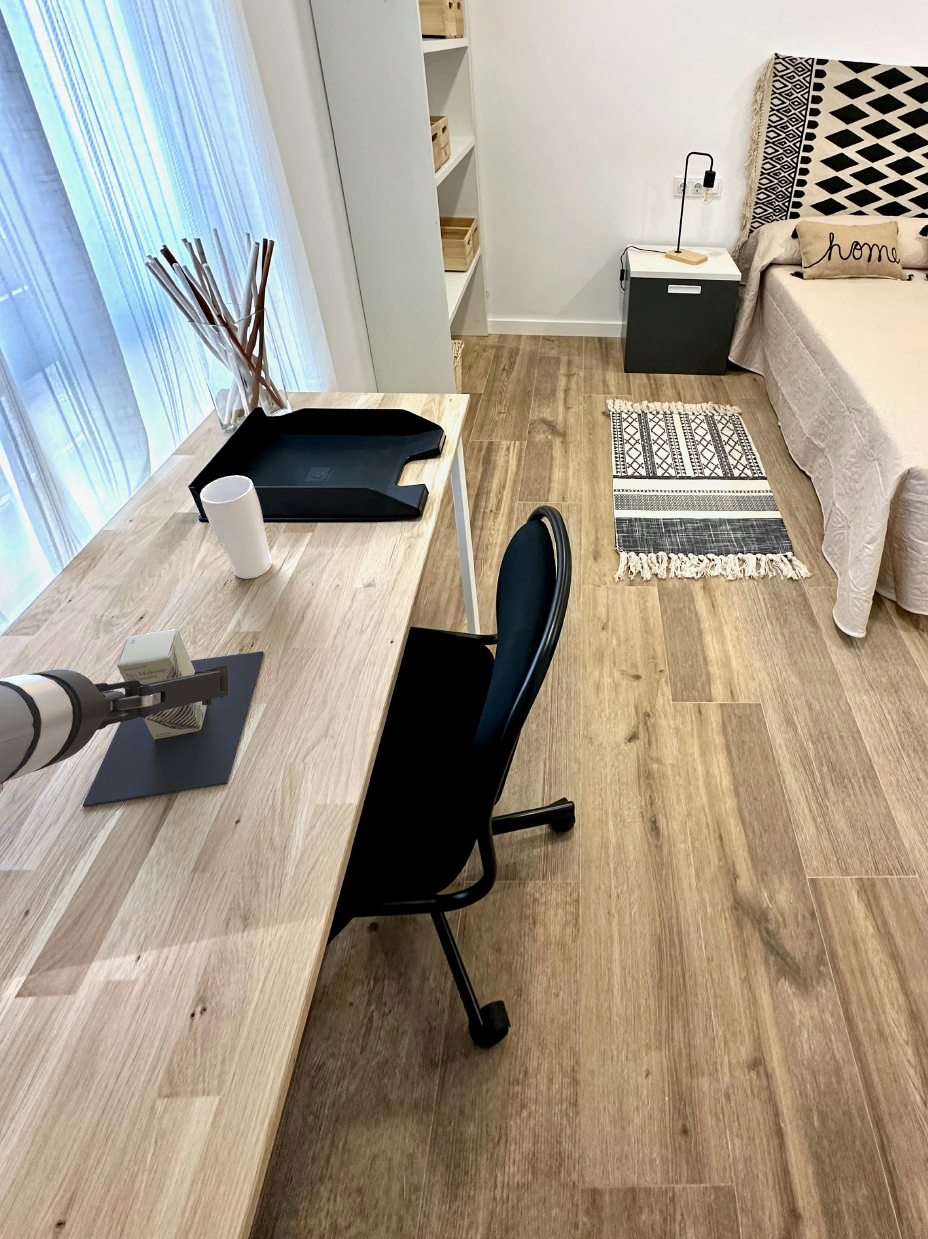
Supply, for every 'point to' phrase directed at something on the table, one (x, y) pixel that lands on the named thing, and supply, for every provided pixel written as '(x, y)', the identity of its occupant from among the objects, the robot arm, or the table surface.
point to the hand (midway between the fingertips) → (156, 686)
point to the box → (162, 678)
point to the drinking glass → (238, 524)
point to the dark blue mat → (179, 744)
